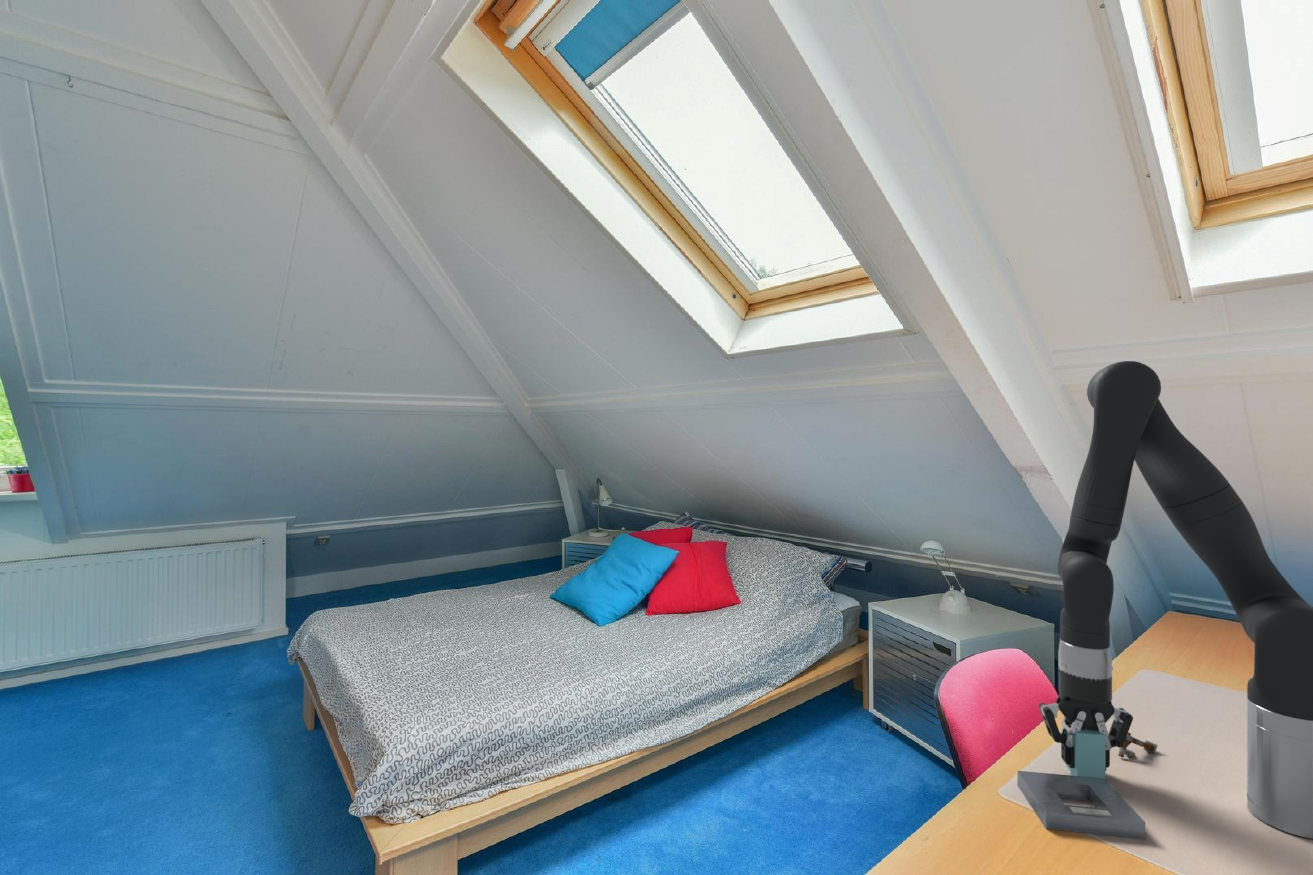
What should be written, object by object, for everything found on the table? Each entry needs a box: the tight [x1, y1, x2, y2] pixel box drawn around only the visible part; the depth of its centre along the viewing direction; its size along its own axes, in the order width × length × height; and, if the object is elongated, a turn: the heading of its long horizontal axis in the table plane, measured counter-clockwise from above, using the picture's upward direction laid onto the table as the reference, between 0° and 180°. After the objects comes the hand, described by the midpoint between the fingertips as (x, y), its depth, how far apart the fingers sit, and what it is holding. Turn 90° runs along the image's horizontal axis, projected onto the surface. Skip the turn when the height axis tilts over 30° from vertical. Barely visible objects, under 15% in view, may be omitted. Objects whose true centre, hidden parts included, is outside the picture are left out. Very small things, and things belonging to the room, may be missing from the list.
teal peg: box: [1065, 724, 1107, 780], centre depth 104 cm, size 4×4×8 cm
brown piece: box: [1117, 731, 1158, 758], centre depth 109 cm, size 2×8×4 cm, turn 108°
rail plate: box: [1017, 770, 1146, 840], centre depth 94 cm, size 13×11×3 cm
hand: (1085, 766), depth 104 cm, fingers closed on teal peg, 4 cm apart
